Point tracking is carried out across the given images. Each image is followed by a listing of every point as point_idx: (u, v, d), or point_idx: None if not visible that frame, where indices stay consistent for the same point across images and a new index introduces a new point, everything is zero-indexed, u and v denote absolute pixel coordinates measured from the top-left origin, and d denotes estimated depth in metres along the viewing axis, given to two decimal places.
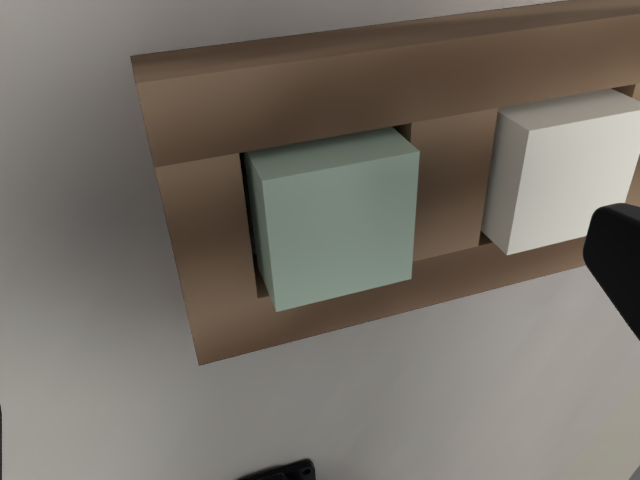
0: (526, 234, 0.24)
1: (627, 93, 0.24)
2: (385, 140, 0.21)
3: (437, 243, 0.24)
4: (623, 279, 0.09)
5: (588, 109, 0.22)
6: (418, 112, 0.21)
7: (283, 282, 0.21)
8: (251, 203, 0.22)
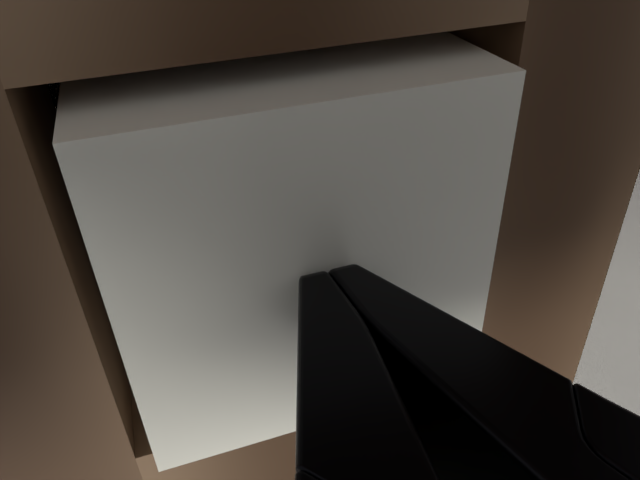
0: None
1: (54, 73, 0.06)
2: None
3: None
4: None
5: None
6: None
7: None
8: None
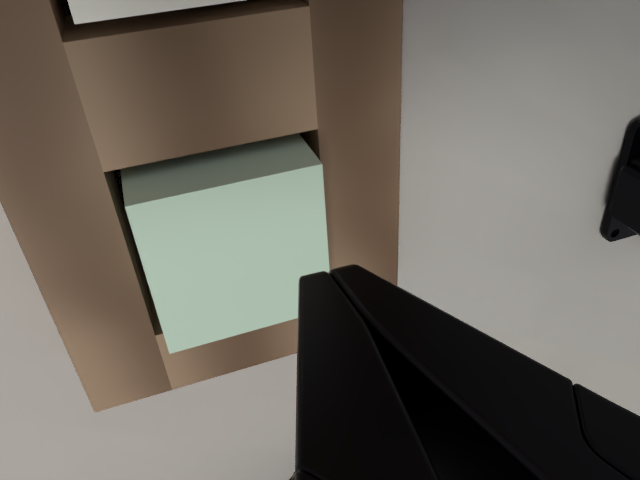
0: None
1: None
2: None
3: (292, 83, 0.17)
4: None
5: None
6: (87, 167, 0.16)
7: (294, 310, 0.19)
8: None
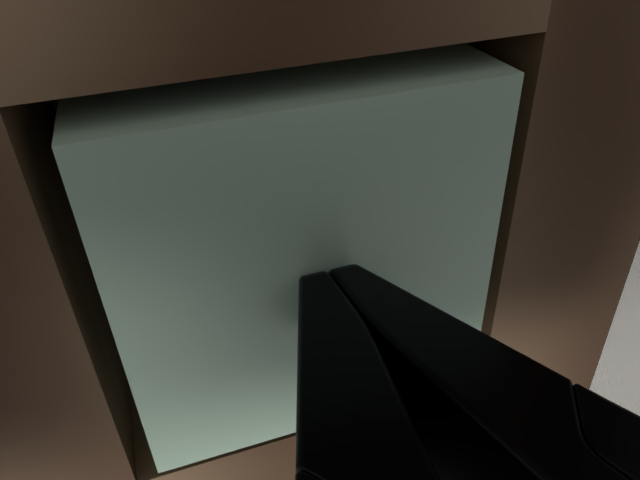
0: None
1: None
2: None
3: None
4: None
5: None
6: None
7: None
8: None
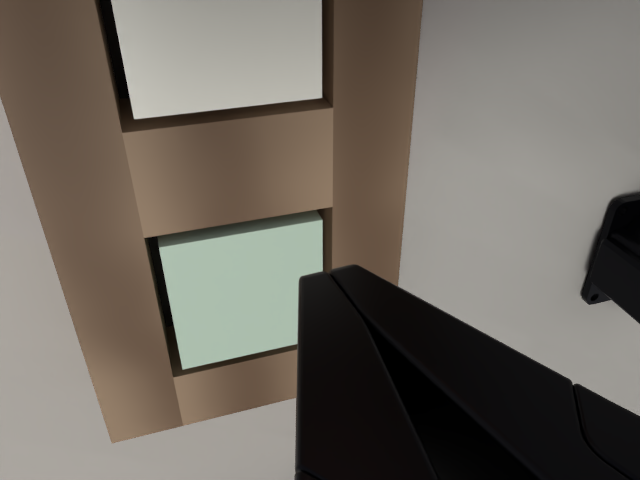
0: (294, 75, 0.17)
1: None
2: None
3: (313, 169, 0.19)
4: None
5: None
6: (130, 233, 0.18)
7: (291, 338, 0.23)
8: None
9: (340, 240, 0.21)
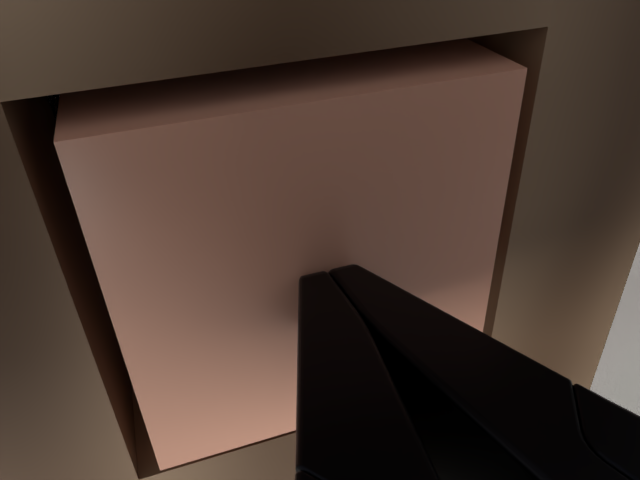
0: None
1: None
2: None
3: None
4: None
5: None
6: None
7: None
8: None
9: None
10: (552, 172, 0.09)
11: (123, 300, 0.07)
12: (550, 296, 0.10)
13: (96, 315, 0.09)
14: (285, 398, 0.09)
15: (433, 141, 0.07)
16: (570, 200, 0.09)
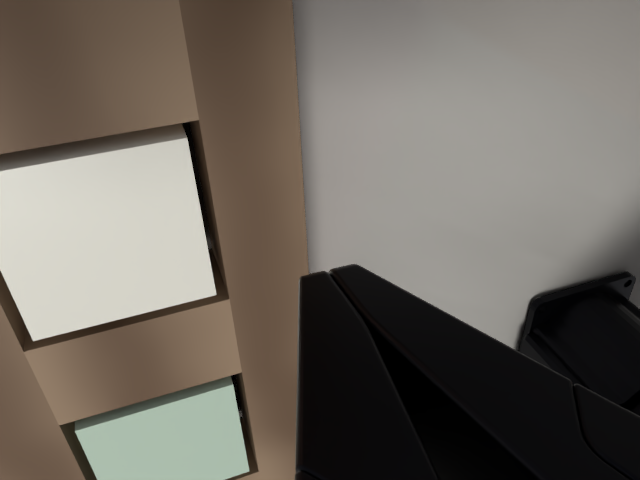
0: (185, 283, 0.18)
1: None
2: None
3: (218, 347, 0.20)
4: None
5: None
6: (45, 424, 0.19)
7: (217, 476, 0.24)
8: None
9: (254, 395, 0.22)
10: None
11: None
12: None
13: None
14: None
15: None
16: None
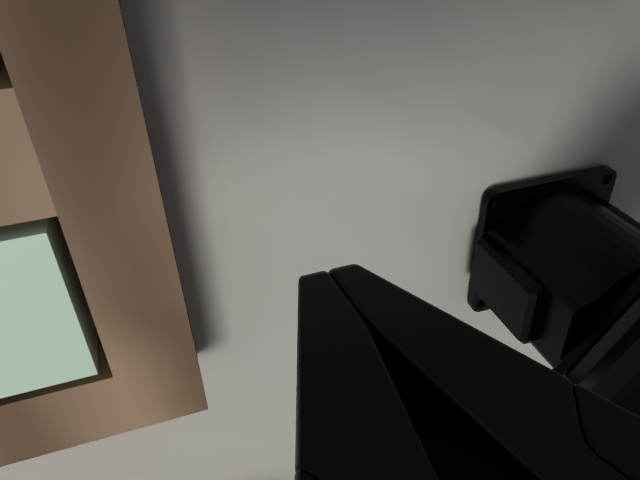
0: None
1: None
2: None
3: (12, 169, 0.15)
4: None
5: None
6: None
7: (52, 376, 0.18)
8: None
9: (84, 257, 0.17)
10: None
11: None
12: None
13: None
14: None
15: None
16: None
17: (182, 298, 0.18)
